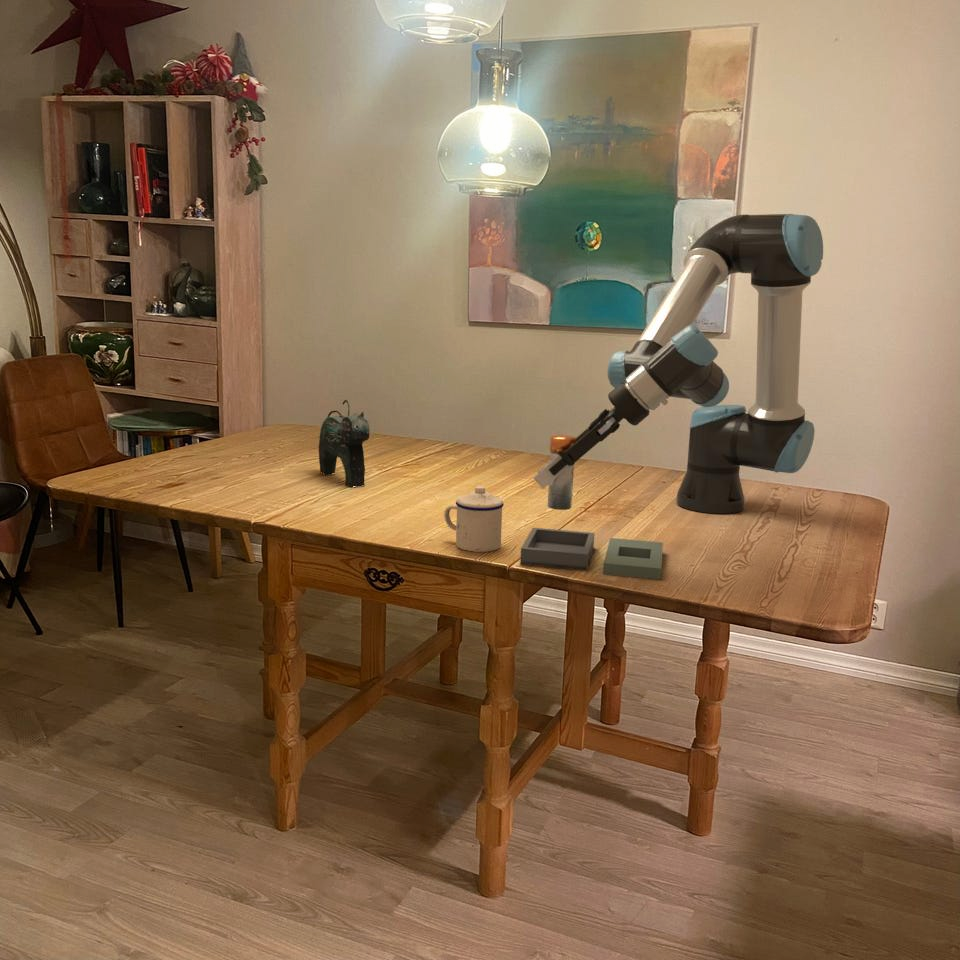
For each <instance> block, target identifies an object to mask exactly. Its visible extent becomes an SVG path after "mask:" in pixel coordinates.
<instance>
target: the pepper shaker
mask: <svg viewBox="0 0 960 960" xmlns="http://www.w3.org/2000/svg"><path fill="white" fill-rule="evenodd" d="M576 438H577V436H573V435H569V434H568V435H566V434H556V435H555V434H554V435H550V442H549V443H550V444H549V451H550V452H549V453H550V454H549V461H550V463H551V462H552V461H553V460H554V459H555V458H557V457H558V456H559V454H558V452H559V451H561V452H562V453H564V452H565V451H566V450H567V449H568V448H570V447H571V446H572V445H573V444H574V443H575V442H576ZM572 458H573V457H572ZM574 470H575V464H574V465H572V466H571V465H570V467H568V468H567V469H566V470H565V471H564V472H563V473H561V474H560V475H559V476H558V477H557V478H556V479H554V480H553V481H552V482H551V483H550V484H548V487H547V488H548V490H547V491H548V493H547V495H548V496H547V507H548V509H552V510H557V511H562V510H563V511H565V510H570V509H572V507H573V506H572V505H573V504H572V503H573V502H572V501H573V489H574V488H573V486H574V472H575V471H574Z"/></svg>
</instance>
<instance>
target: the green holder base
mask: <svg viewBox="0 0 960 960" xmlns="http://www.w3.org/2000/svg"><path fill="white" fill-rule="evenodd" d="M663 547H664V542H659V541H651V540H649V541H648V540H638V539H626V538H617V537H616V538H614V537H610V539H609V541H608V545H607V549H606V553H605V556H604V560H603V569H602V570H603V571H602V575H608V576H609V575H612V576H621V577H632V578H642V579H643V578H644V579H653V580H661V576H662V575H661V574H662V562H663Z"/></svg>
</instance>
